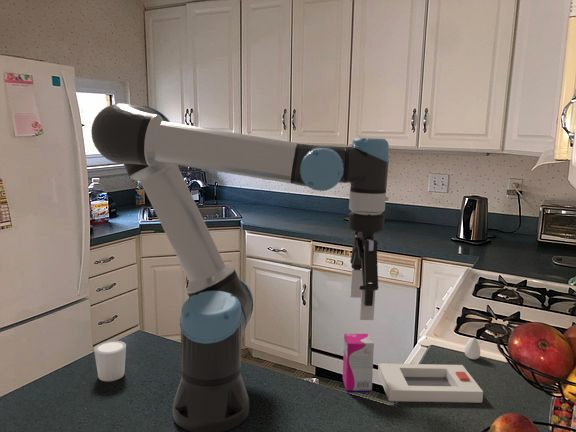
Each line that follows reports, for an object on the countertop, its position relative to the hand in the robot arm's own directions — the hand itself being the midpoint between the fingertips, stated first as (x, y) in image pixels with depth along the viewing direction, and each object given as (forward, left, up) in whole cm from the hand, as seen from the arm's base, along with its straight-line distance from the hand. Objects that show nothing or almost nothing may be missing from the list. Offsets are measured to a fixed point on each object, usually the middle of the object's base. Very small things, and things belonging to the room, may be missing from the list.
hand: (361, 307), depth 104 cm
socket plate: (+16, 0, -19) cm, 24 cm away
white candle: (-56, +3, -19) cm, 59 cm away
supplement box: (0, 0, -19) cm, 19 cm away
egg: (+32, +15, -19) cm, 40 cm away
